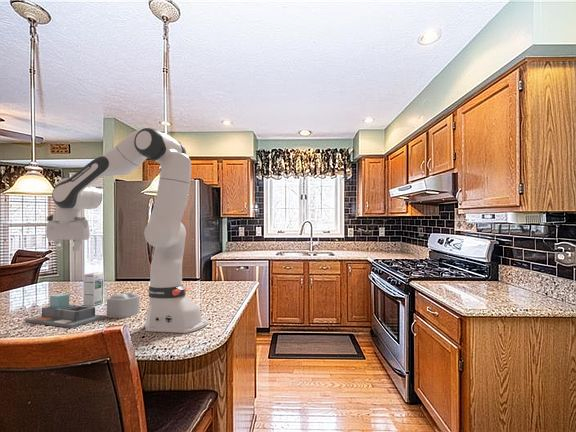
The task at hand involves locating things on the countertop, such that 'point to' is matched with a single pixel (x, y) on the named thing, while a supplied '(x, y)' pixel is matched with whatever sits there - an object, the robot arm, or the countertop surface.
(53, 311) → the socket board
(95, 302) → the syrup box
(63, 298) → the teal upright block
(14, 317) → the countertop surface
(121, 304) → the lumpy-topped squat cylinder
